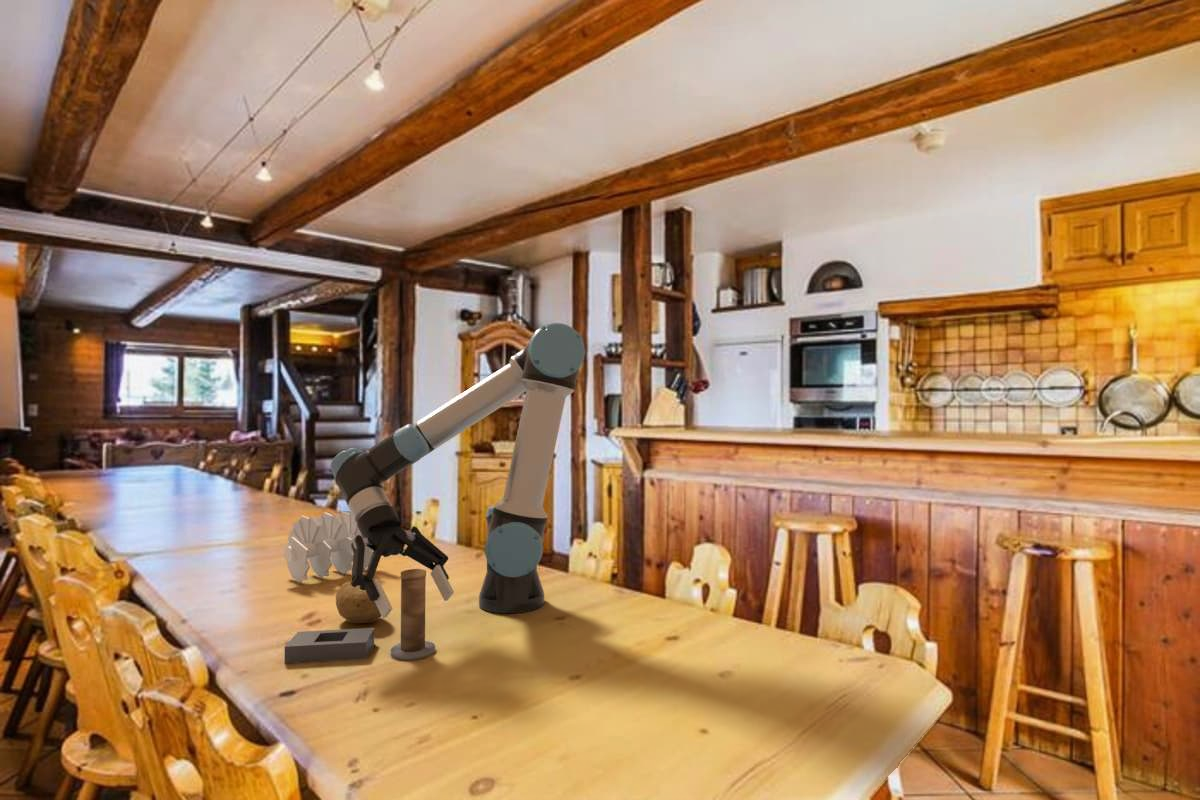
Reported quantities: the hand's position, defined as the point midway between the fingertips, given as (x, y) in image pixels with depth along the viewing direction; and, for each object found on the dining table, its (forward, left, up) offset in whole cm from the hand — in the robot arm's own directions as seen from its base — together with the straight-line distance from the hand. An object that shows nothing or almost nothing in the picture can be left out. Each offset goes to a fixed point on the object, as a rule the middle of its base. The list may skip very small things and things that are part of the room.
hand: (420, 604), depth 121 cm
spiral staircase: (+30, -65, -9) cm, 72 cm away
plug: (+1, -2, -8) cm, 9 cm away
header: (+16, -4, -9) cm, 19 cm away
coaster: (+1, -2, -9) cm, 9 cm away
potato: (+14, -22, -9) cm, 28 cm away
